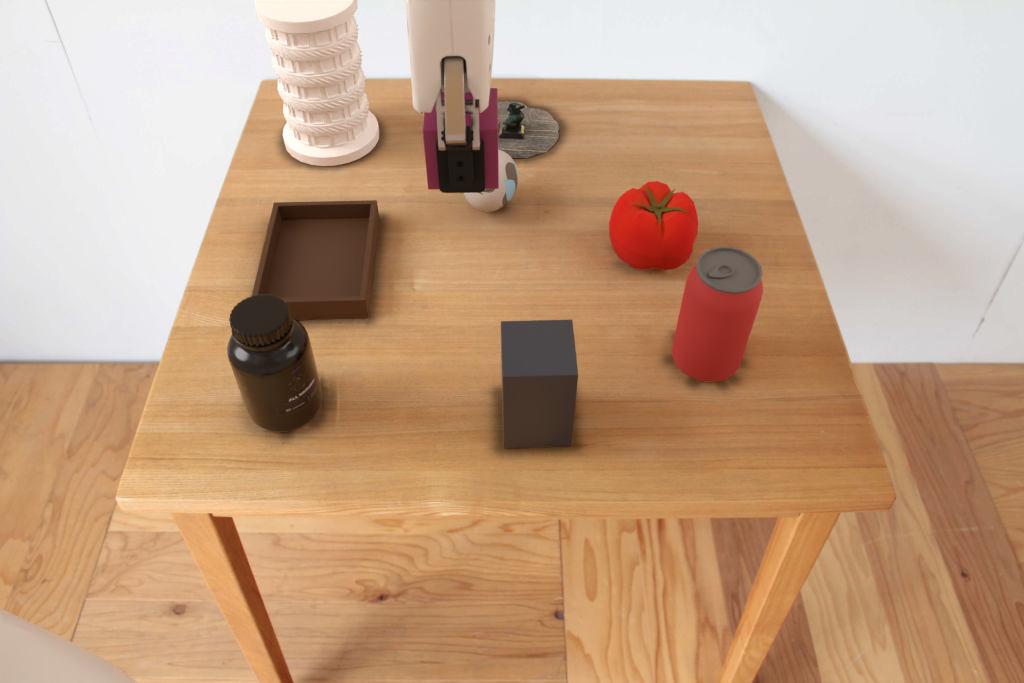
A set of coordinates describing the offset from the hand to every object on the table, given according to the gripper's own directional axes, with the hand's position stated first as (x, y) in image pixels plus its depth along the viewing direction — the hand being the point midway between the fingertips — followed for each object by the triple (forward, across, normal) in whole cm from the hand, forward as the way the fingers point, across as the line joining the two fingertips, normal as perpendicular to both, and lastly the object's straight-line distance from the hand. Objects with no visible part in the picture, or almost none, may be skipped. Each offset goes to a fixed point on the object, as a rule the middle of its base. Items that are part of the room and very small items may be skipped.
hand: (463, 162), depth 62 cm
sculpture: (+25, -39, +4) cm, 47 cm away
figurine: (+25, -24, +2) cm, 35 cm away
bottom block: (+25, +5, +6) cm, 26 cm away
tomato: (+25, -16, +19) cm, 35 cm away
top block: (0, 0, 0) cm, 0 cm away
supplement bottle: (+25, +3, -17) cm, 30 cm away
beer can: (+25, -2, +22) cm, 33 cm away
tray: (+25, -15, -16) cm, 33 cm away
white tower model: (+25, -38, -18) cm, 49 cm away
